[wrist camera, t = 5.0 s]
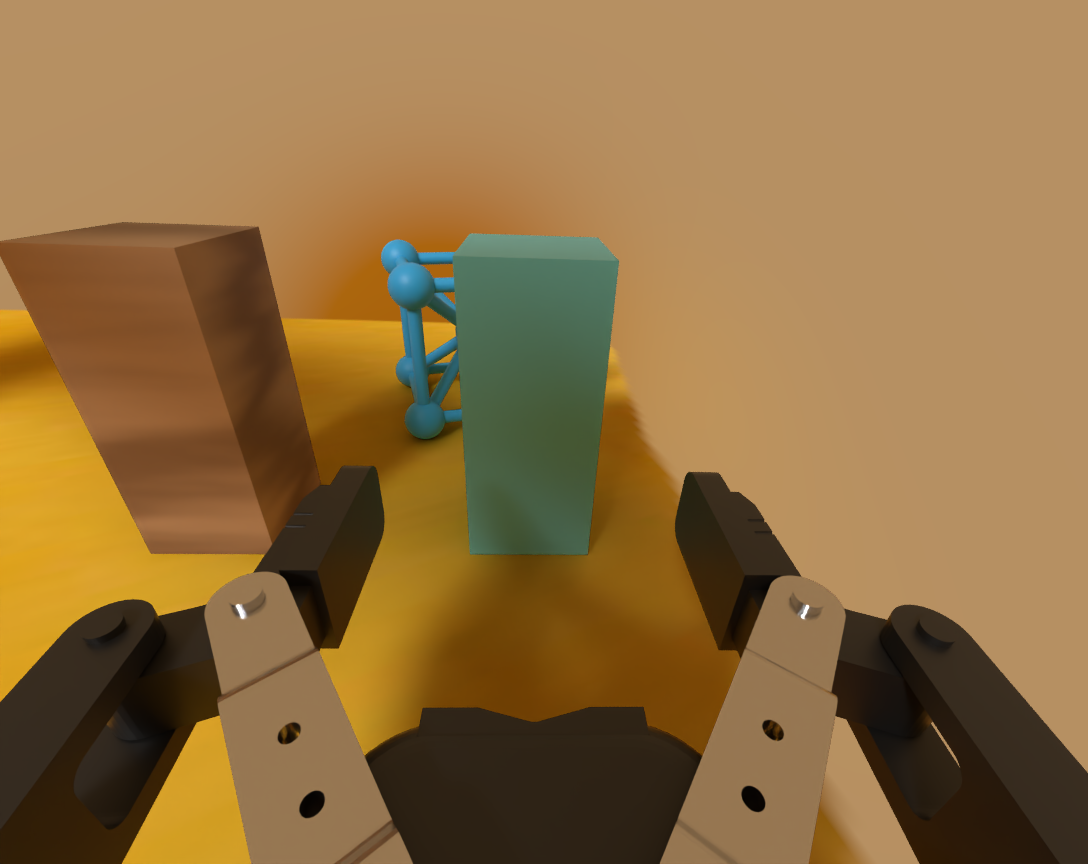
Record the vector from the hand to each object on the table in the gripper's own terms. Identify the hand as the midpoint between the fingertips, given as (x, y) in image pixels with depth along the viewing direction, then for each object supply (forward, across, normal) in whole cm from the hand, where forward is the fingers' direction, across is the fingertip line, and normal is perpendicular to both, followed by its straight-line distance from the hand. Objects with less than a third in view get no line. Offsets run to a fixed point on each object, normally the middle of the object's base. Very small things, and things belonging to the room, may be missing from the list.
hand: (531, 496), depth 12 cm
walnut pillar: (+7, +13, +7) cm, 17 cm away
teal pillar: (+7, 0, +7) cm, 10 cm away
